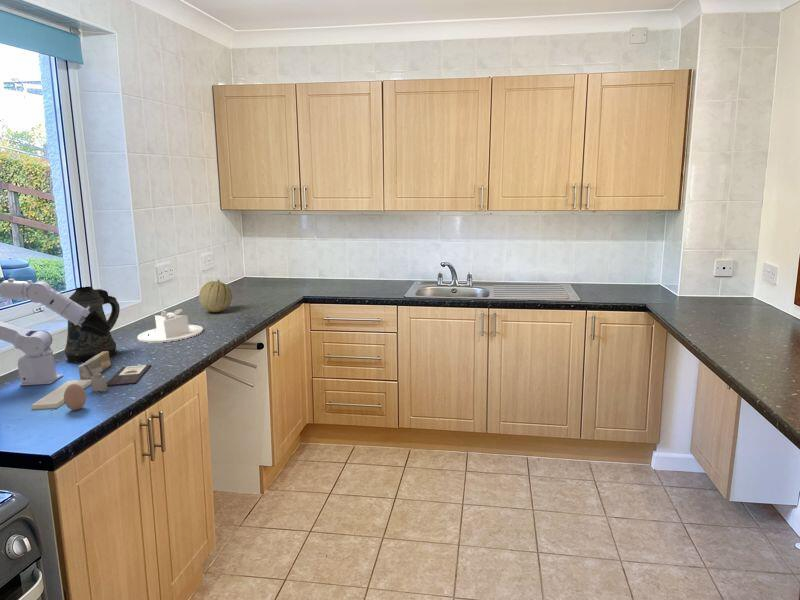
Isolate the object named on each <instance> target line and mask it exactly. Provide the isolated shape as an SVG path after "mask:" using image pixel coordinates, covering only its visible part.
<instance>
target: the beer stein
mask: <svg viewBox="0 0 800 600" xmlns="http://www.w3.org/2000/svg"><path fill="white" fill-rule="evenodd" d="M68 298H69V299H71V300H72V301H74V302H76V303H77V304H79V305H80V306H82V307H84V308H85V309H86V308H87V307H88V306H89V307H90V308H89V310H88V311H89V312H90V313H92V312H93V311H94V310H96V312H97V313H98V315H99V316H100V317H101V318H102V320H104V321H105V322H106V323H107V324H108V325H109V326H110V328H109V330H108V331H107V333H106V334H105V335H104V337H100V336H97V335H95V334H92V333H88V332H81V331H80V329H81V328H82V326H79V325H74V323H72V322H71V321H69V320H67V335H66V336H67V337H66V343H65V348H64V354H65V357H66V359H67V361H68V362H69V363H71V362H74V364H82V363H81V362H86V361H88V360H90V359H91V358H93V357H94V356H96V355H98V354H99V353H101V352H102V351H108V352H109V358H111V357H112V355H113V356H114V355H116V353H117V351H116V350H117V343H116V342H115V340H114V338H113V336H112V334H111V331H112V329H113V327H114V326H115V324H116V323H117V320H118V318H119V316H120V308H121V307H120V304H119V302H118V300H117V298H116V297H114V296H112V295H109V293H108V291H107V290H104V289H102V288H99V289H98V288H97V289H95V288H93V287H92V286H81V287H77V288H76V289H75V291H74V292H73V293H72V294H71V295H70V296H69V297H68ZM107 304H110V306H111V311H110V315H109V317H108V319H107V317H106V314H105V312H104V311H105V310H104V308H103V307H104V306H103V305H107ZM83 320H84V319H83ZM110 356H111V357H110Z"/></svg>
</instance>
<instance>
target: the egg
mask: <svg viewBox="0 0 800 600" xmlns="http://www.w3.org/2000/svg"><path fill="white" fill-rule="evenodd" d="M64 402H65V403H64V404H65V406H66V407H67V408H69V410H72V411H78V410H80V409H82V408H83V407H84V406H85V404H86V402H87V394H86V391H85V390H84V389H83V388H82V387H81V386H80V385H78V384H71V385H69V386H68V387H67V388H66V390H65V393H64Z"/></svg>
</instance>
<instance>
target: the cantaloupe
mask: <svg viewBox="0 0 800 600" xmlns="http://www.w3.org/2000/svg"><path fill="white" fill-rule="evenodd" d="M198 300H199V303H200V305H201V306H202V308H203V309H204V310H206V311H208V312H211V313H220V312H223V311H225V310H226V309H228V307H230V306H231V303H232V300H233V294H232V291H231V288H230V287H229V286H228V285H227V284H226V283H224V282H221V280H220V279H217V280H216V281H215V280H213V281H208V282H206V283H205V284H203V286H202V287H201V288H200V289H199V293H198Z"/></svg>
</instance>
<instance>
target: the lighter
mask: <svg viewBox="0 0 800 600" xmlns="http://www.w3.org/2000/svg"><path fill="white" fill-rule="evenodd" d="M80 368H81V370H82V372H83V373H84V375H85V377H86V378H87V379H89V378H91V383H92V384H91V388H92V392H98V391H101V392H100V393H102V391H105V392H106V390H107V391H108V390H109V389H108V388H109V387H107V382H108V381H107V376H106V375H103V374H102V373H101V372H100V373H95V374H93V372H92V371H91V369H90V367H89V366H88V364H85V365H83V366H81V367H80Z"/></svg>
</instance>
